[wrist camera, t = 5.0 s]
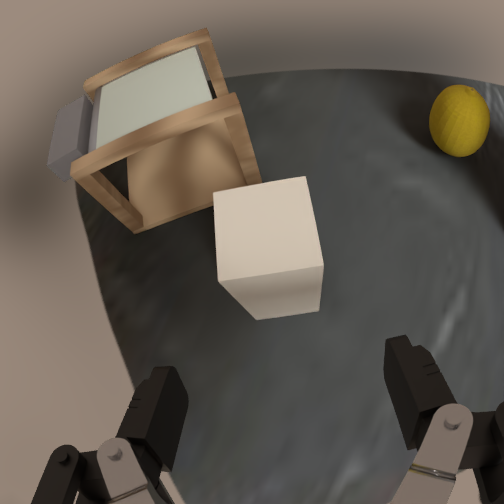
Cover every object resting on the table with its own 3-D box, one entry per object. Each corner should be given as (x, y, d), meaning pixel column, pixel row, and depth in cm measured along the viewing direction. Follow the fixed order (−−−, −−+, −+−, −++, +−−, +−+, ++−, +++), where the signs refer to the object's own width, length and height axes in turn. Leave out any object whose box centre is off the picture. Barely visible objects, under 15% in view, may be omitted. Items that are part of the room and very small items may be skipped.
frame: (231, 102, 32) (206, 27, 23) (263, 188, 27) (239, 103, 18) (128, 142, 32) (84, 80, 23) (135, 234, 27) (70, 175, 18)
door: (200, 60, 24) (192, 40, 22) (221, 123, 21) (211, 98, 18) (72, 119, 25) (59, 103, 23) (63, 192, 21) (44, 176, 19)
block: (309, 252, 24) (305, 176, 15) (318, 310, 22) (323, 265, 13) (250, 261, 25) (213, 192, 15) (256, 319, 23) (218, 281, 14)
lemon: (419, 123, 27) (437, 61, 19) (468, 136, 25) (493, 79, 18) (421, 165, 25) (445, 102, 18) (474, 179, 24) (508, 123, 16)
